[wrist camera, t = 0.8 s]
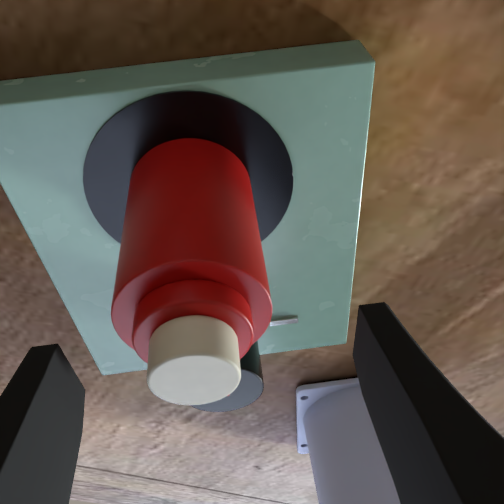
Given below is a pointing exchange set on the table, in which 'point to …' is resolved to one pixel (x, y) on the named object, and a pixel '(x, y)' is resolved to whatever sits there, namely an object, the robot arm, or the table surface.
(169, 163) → the ketchup bottle
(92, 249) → the hotplate
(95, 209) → the ring
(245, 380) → the dial
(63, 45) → the table surface
